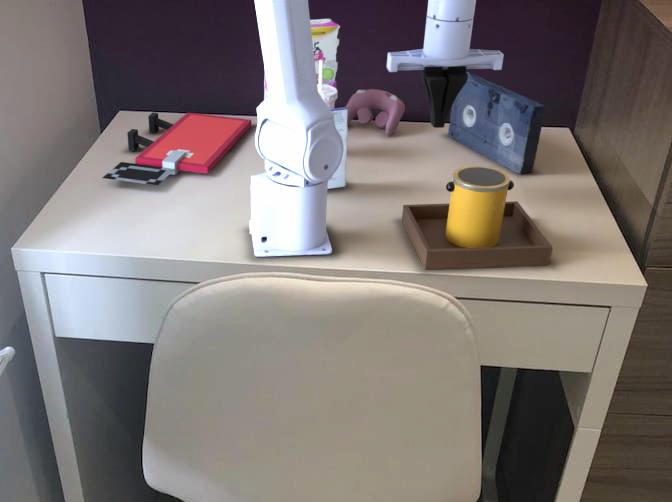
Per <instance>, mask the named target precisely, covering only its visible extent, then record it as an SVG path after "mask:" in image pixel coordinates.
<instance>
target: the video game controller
mask: <svg viewBox="0 0 672 502" xmlns="http://www.w3.org/2000/svg"><path fill="white" fill-rule="evenodd" d="M345 107H348V125H349V124H350V123H351V122H352V121H353V120H354V118H356V117H355V116H356V115H357V118H358V121H359V122H360V123H361V124H363V125H370V124H371V123H372V122H373V120H374V123H375V125H376V126H377V127H378V128H380V129H385V134H386V136H388V137H390V136H392V135H393V134H394V133H395V132H396V130H397V128H398V127H399V125H400V122H401V118H402V117H403V116H404V113H405V112H406V111H405V110H406V105H405V103H404V102H403V101H402V100H401V99H400V98H399V97H398V96H396V95H395V94H393V93H390V92H388V91H386V90H381V89H376V88H371V89H358V90H357V91H356V92H355V93H353V94H352V95H351V96H350V98H349V100H348V101H347V103H346V105H345ZM372 109H377V110H380V112H379V113H378V114H377V115H376V116H375V119H374V114H373V111H372Z"/></svg>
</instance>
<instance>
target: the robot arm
mask: <svg viewBox="0 0 672 502" xmlns="http://www.w3.org/2000/svg"><path fill="white" fill-rule="evenodd" d="M476 4H477V0H428V1H427V10H426V20H425V29H424V38H423V48H419V49H412V50H403V51H393V52H392V51H391V52H387V59H386V69H387V71H388V72H389V73H397V72H398V71H419V73H420V76H421V79H422V82H423V85H424V88H425V91H426V94H427V95H426V96H427V101H428V107H429V116H430V125H431V126H432V128H434V129H438V128H439V129H441V128H445V125H446V122H447V119H448V116H449V113H450V112H451V108H452V105H453V103H454V101H455V99H456V97H457V95H458V94H459V92H460V91H461V89H462V88H463V86H464V85H465V84H466V82H467V79H468V74H467V73H466V72H467V70H483V69H484V70H487V69H489V70H490V69H491V70H493V71H502V70H503V63H504V56H505V54H504V53H503V52H501V50H497V49H496V50H489V49H475V48H470V47H471V40H472V34H473V32H472V31H473V27H474V26H473V25H474V19H475V18H474V17H475V12H476V11H475V10H476ZM254 6H255V12H256V20H257V27H258V33H259V40H260V46H261V53H262V59H263V60H262V61H263V65H264V66H263V67H265V70H264V71H265V74H266V80H267V87H268V94H269V96H268V97H267V98H266V99H265V100H264V99H263V100H262V101H261V102H260V103H259V105H258V106H257V107H256V114H257V115H256V116H257V125H256V129H255V134H254V135H255V136H254V145H255V149H256V151H257V153H258V154H259V155H260V157H261V158H262V159H264V169H265V170H266V169H267V170H268V172H266V171H265V172H261V173H257V174H256V173H255V174H252V175H250V219H249V221H248V225H249V228H248V229H249V235H251V240H252V246H253V253H254V256H255V257H258V258H259V257H263V258H264V257H285V256H286V257H287V256H289V257H290V256H312V255H313V256H315V255H316V256H318V255H332V254H333V248H332V244H331V241H330V238H329V235H328V234H329V233H328V231H327V211H328V210H327V209H328V190H329V189H328V180H330V179H332V175H333V174H334V173H335V172H336V170H337V169H338V167H339V165H340V163H341V160H342V157H343V149H344V147H343V140H342V138H341V136H340V134H339V133H338V131H337V129H336V127H335V122H334V115H333V113H332V111H331V110H330V108H329V107H328V106H327V104H326V103H325V101H324V100H323V99H322V97H321V96H320V94H319V93H318V88H317V79H316V70H315V61H314V52H313V43H312V33H311V24H310V20H311V17H310V7H309V0H254Z"/></svg>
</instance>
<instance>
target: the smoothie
mask: <svg viewBox="0 0 672 502" xmlns="http://www.w3.org/2000/svg"><path fill="white" fill-rule="evenodd" d="M322 80H323V60H319V84H317V88H318V93H319V94H320V96H321V97H322V99H323V100H324V101H325V103H326V104H327V106H328V107H329V108H330V109H334V105H335V106H336V101H337V99H338V94H339V93H338V88H337V87H336V88H334V87H332V86H329V85H324V84H322ZM335 100H336V101H335Z"/></svg>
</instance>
